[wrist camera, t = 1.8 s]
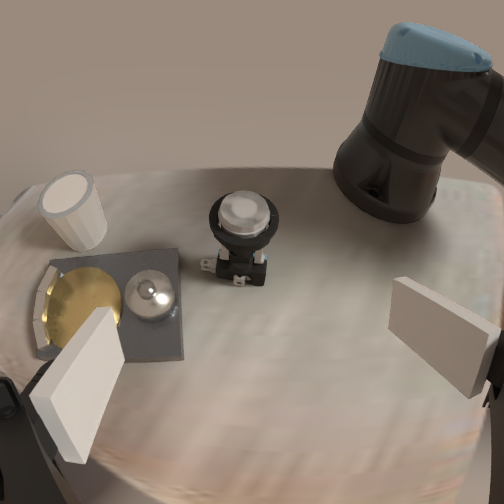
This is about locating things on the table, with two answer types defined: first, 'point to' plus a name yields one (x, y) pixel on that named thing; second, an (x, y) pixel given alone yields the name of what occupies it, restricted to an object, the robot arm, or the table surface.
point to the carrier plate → (114, 303)
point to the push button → (242, 236)
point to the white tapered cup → (74, 210)
